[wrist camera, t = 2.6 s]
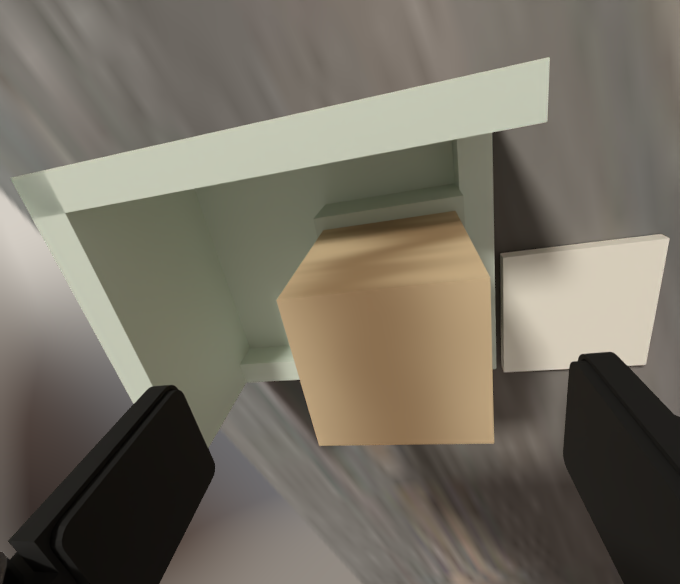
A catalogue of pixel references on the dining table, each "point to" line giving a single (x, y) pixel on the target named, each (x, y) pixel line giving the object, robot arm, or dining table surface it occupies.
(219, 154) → the pale grey angled piece
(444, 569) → the dining table surface
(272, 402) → the dining table surface
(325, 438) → the oak block
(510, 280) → the cream tile
